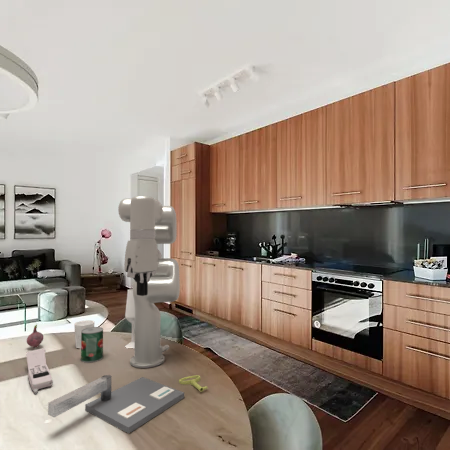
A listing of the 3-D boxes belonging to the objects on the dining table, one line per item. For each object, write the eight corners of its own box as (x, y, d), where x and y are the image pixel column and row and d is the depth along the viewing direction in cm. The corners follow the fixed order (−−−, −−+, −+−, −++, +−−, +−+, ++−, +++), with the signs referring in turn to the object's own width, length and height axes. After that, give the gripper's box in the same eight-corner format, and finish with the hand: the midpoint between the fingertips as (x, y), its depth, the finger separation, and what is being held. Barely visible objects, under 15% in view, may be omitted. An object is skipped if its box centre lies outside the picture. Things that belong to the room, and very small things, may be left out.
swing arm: (113, 396, 88) (113, 376, 88) (54, 430, 73) (54, 405, 73) (106, 394, 89) (106, 374, 90) (47, 426, 74) (47, 402, 74)
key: (201, 396, 93) (201, 389, 93) (176, 383, 101) (176, 376, 101) (218, 387, 98) (218, 380, 98) (192, 376, 106) (192, 369, 106)
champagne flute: (144, 344, 136) (144, 289, 137) (134, 349, 129) (135, 291, 130) (131, 342, 138) (131, 288, 139) (121, 347, 132) (122, 290, 133)
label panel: (142, 381, 101) (142, 375, 101) (184, 397, 91) (184, 391, 91) (85, 410, 84) (85, 403, 84) (128, 433, 74) (128, 425, 74)
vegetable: (27, 352, 127) (27, 327, 127) (25, 347, 132) (26, 323, 132) (44, 348, 130) (44, 324, 131) (42, 344, 135) (42, 321, 136)
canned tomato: (106, 358, 120) (106, 329, 120) (85, 364, 114) (86, 334, 115) (97, 353, 126) (97, 325, 126) (77, 358, 120) (77, 329, 120)
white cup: (98, 345, 135) (98, 322, 135) (81, 350, 128) (81, 326, 128) (86, 341, 139) (87, 319, 139) (70, 347, 132) (70, 323, 132)
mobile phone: (44, 347, 116) (54, 370, 96) (44, 363, 116) (54, 390, 96) (25, 351, 112) (31, 376, 92) (25, 368, 112) (31, 396, 92)
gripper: (152, 235, 105) (151, 290, 105) (114, 236, 93) (113, 297, 92) (168, 236, 101) (167, 292, 101) (131, 236, 89) (130, 300, 88)
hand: (142, 294), depth 96 cm, fingers closed
